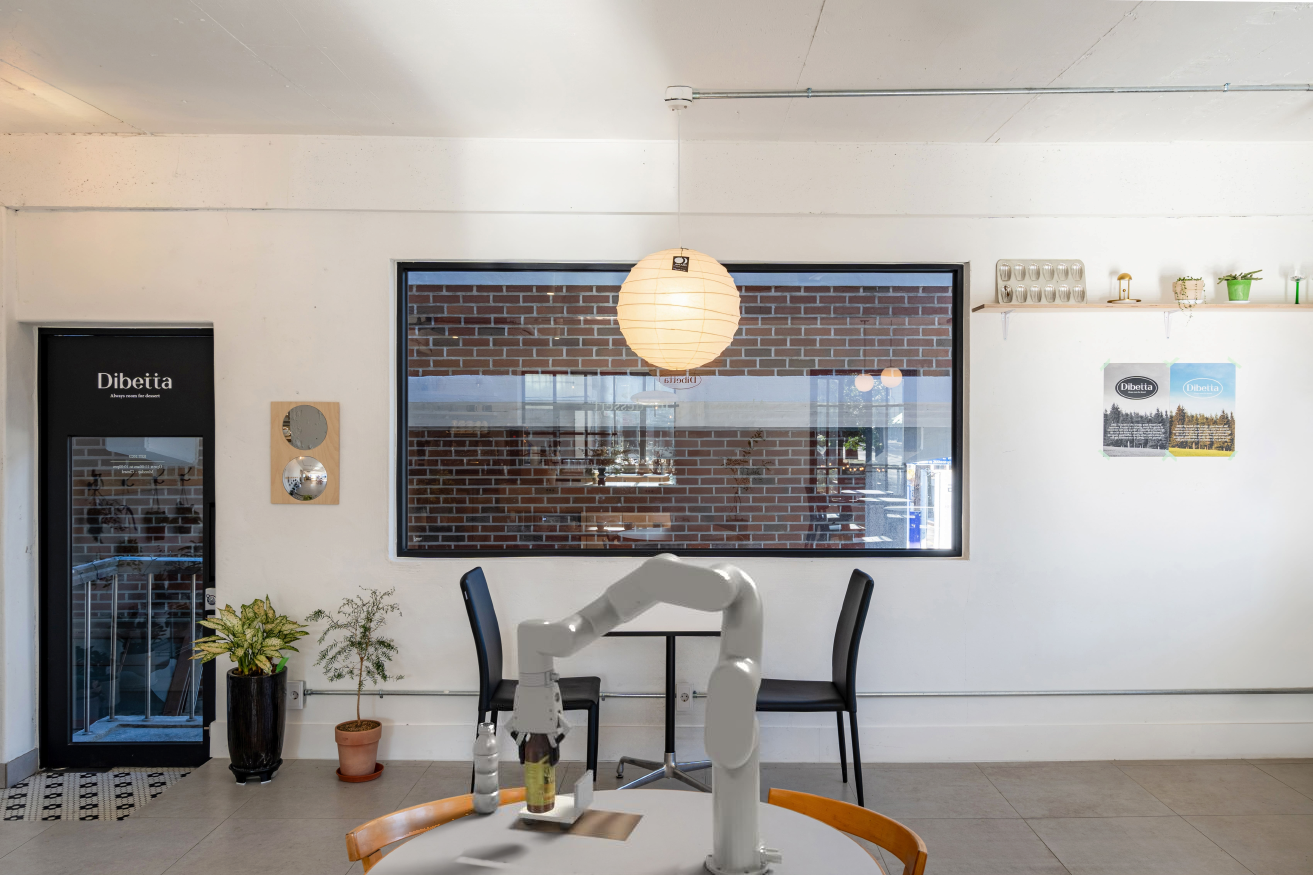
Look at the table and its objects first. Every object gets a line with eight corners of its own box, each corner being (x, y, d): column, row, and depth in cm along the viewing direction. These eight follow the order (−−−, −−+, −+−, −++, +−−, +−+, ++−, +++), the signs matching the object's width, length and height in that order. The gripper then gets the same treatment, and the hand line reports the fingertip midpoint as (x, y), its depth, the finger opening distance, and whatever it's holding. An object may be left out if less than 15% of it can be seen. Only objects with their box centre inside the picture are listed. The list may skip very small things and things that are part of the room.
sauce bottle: (549, 815, 164) (546, 718, 166) (521, 814, 166) (518, 718, 167) (560, 803, 171) (556, 709, 172) (532, 802, 172) (529, 709, 173)
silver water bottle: (466, 815, 184) (466, 727, 185) (481, 803, 190) (481, 719, 191) (491, 818, 182) (491, 730, 183) (505, 806, 188) (505, 721, 189)
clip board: (643, 819, 180) (643, 815, 180) (625, 845, 167) (625, 840, 167) (539, 807, 187) (539, 803, 187) (514, 831, 175) (514, 826, 175)
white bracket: (594, 811, 182) (594, 768, 183) (576, 831, 171) (576, 786, 172) (539, 804, 186) (539, 763, 186) (518, 824, 175) (518, 780, 176)
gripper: (580, 674, 171) (583, 759, 170) (508, 673, 176) (510, 755, 175) (566, 683, 164) (570, 771, 163) (491, 681, 169) (494, 767, 168)
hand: (539, 762), depth 169 cm, fingers closed on sauce bottle, 6 cm apart
